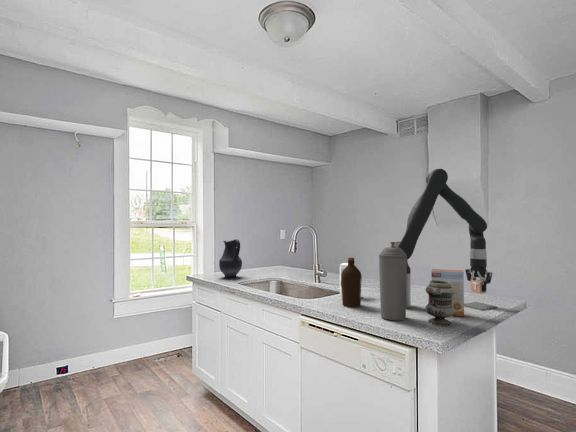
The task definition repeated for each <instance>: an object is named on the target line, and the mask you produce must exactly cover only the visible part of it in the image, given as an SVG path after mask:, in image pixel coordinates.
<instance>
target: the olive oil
mask: <svg viewBox="0 0 576 432" xmlns="http://www.w3.org/2000/svg"><path fill="white" fill-rule="evenodd" d="M347 263H348V266H347V267H346V268H345V269H344V270H343V271H342V274H341V283H342V296H341V301H342V306H343V305H344V306H343V307H345V306H349V307H348V308H358V307H357V306H359V307H361V306H360V305H362V304H361V303H362V278H363V277H362V273H361V270H360V269H359V268H358V267H357V266H355V265H356V264H355V257H348V258H347ZM354 264H355V265H354Z"/></svg>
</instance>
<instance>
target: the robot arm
mask: <svg viewBox="0 0 576 432" xmlns="http://www.w3.org/2000/svg"><path fill="white" fill-rule="evenodd" d="M448 178H449V176H448V172H447V171H446V170H445V169H443V168H436V169H434V170H432V171H431V172H429V173H428V174H427V175H426V177H425V183H426V186H425V188H424V190H423V192H422V194H421V195H420V196H419V197H418V199H417V200H416V201H415V203H414V204H413V207H412V208H411V211H410V213H409V214H408V217H407V222H406V223H407V224H406V229H405V232H404V235H403V237H402V238H401V240H400V241H394V242H395V243H394V246H395V247H398V248H401V249H402V250H403V252H405V254H406V255H407V282H406V309H407V308H411V307H412V305H411V304H412V302H411V301H412V299H411V298H412V297H411V295H412V286H411V285H412V283H411V281H412V280H411V275H412V274H411V267H410V265H409V262H408V261H409V259H411V257H413V253H414V251H415V249H416V248H415V247H416V245H417V243H418V239H419V237H420V236H421V233H422V232H423V229H424V228H425V225H426V224H427V222H428V220H429V218H430V216H431V214H432V211H433V209H434V206H435V204H436V202H437V199H438V197H439V196H440V197H441V198H442V199H444V200H445V202H446V203H447V204H449V206H450V207H451V208H452V209H453V210H454V212H456V213H457V215H458V216H459V217H460V218H461V219H462V220H464V221H465V222H466V223H467V224H468V232H469V238H470V242H469V243H470V251H469V262H470V263H469V265H470V268H467V269H465V270H464V271H465V276H466V279H467V281H469V282H470V283H471V280H481V282H482V292H485V291H487V285H488V284H489V285H490V284H491V282H492V278H493V272H491V271H488V270H487V266H488V263H487V262H488V260H487V242H486V241H487V240H486V238H485V237H484V232H485V231H486V230H487V228H488V224H487V221H486V220H485V219H484V218H483V217H482V216H481V215H480V214H478V212H476V211H475V210H474V209H473V207H472V206H471V205H470V204H469V203H468V202H467V200H465V198H463V197H461V196H460V195H459V194H458V193H456V192H455V191H454V190H453V189H451V187H449V186H448V184H447V182H448V180H449V179H448Z"/></svg>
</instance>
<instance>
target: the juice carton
mask: <svg viewBox="0 0 576 432" xmlns="http://www.w3.org/2000/svg"><path fill="white" fill-rule="evenodd" d="M354 265H355V266H356V263H354ZM347 266H348V262H342V263H340V264H339V295H340V297H342V283H341V274H342V271H343V270H344V269H345V268H346V267H347ZM356 267H357V266H356Z"/></svg>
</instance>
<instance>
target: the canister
mask: <svg viewBox="0 0 576 432" xmlns="http://www.w3.org/2000/svg"><path fill="white" fill-rule="evenodd" d="M395 242H396V241H390V242H389V243H390V245H391V246H388V247H385V248H383V249H382V250H381V252H380V253H378V263H379V264H378V268H379V269H378V273H379V297H380V299H379V301H380V316H381V318H382V317H383V318H382V319H384V318H385V319H384V320H387V319H390V320H389V321H393V320H399V321H404V320H406V317H407V313H406V312H407V308H406V282H407V255H406V254H405V252H403V250H402V249H401V248H398V247H395V246H394V243H395ZM403 319H404V320H403Z"/></svg>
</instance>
